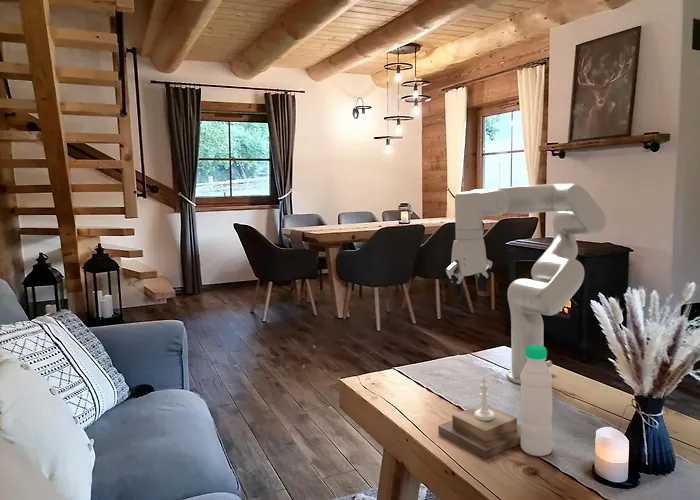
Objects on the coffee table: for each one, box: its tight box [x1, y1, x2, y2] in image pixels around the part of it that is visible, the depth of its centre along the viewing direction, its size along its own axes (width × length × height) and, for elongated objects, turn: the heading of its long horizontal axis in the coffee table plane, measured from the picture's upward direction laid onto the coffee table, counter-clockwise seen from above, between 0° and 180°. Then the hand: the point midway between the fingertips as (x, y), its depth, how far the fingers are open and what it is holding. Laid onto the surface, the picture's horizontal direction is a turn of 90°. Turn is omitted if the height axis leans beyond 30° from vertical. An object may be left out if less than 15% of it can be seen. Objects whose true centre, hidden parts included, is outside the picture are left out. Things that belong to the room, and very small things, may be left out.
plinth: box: [437, 403, 521, 460], centre depth 132 cm, size 16×16×5 cm
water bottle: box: [519, 345, 553, 457], centre depth 123 cm, size 7×7×25 cm
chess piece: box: [474, 377, 495, 421], centre depth 131 cm, size 5×5×10 cm
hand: (470, 293), depth 154 cm, fingers open, 9 cm apart
